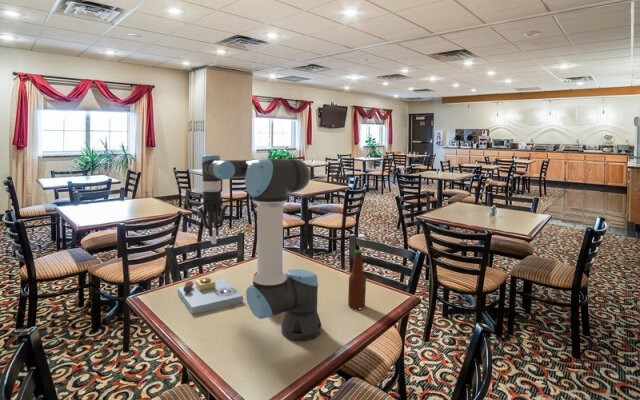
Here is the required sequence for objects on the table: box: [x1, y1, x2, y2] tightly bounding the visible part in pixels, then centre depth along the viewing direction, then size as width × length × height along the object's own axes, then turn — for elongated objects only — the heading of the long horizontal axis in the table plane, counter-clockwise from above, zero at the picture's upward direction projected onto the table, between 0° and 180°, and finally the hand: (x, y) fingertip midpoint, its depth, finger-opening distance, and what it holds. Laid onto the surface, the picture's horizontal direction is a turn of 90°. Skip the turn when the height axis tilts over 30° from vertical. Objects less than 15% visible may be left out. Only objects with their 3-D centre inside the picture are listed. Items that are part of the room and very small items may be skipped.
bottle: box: [347, 249, 367, 310], centre depth 159 cm, size 7×7×25 cm
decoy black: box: [183, 285, 192, 293], centre depth 165 cm, size 4×4×4 cm
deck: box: [177, 278, 244, 315], centre depth 167 cm, size 24×22×3 cm
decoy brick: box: [184, 280, 194, 287], centre depth 170 cm, size 4×4×4 cm
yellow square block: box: [195, 277, 216, 291], centre depth 171 cm, size 7×7×4 cm
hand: (213, 243), depth 164 cm, fingers closed
